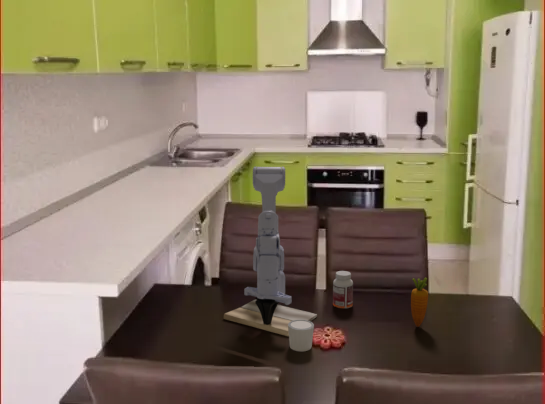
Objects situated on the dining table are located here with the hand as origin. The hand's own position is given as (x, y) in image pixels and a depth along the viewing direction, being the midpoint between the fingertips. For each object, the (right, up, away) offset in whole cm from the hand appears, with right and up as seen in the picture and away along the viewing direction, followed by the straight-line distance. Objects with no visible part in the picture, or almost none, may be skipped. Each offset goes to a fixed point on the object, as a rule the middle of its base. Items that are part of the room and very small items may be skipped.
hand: (267, 323), depth 172 cm
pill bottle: (+23, +1, +18) cm, 30 cm away
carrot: (+43, -2, +4) cm, 43 cm away
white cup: (+9, -5, -11) cm, 15 cm away
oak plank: (-1, -1, +4) cm, 4 cm away
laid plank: (+3, 0, +11) cm, 12 cm away
